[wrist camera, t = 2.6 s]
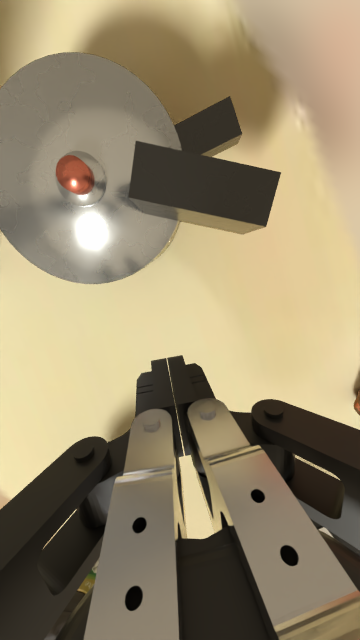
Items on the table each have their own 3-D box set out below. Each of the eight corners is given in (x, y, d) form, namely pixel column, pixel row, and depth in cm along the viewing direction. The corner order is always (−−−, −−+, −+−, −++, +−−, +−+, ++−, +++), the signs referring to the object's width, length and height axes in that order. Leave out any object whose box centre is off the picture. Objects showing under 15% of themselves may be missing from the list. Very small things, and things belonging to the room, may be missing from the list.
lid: (-13, 263, 23) (-98, 267, 16) (-15, 37, 19) (-134, -92, 12) (221, 310, 24) (236, 333, 17) (273, 103, 19) (323, 19, 12)
